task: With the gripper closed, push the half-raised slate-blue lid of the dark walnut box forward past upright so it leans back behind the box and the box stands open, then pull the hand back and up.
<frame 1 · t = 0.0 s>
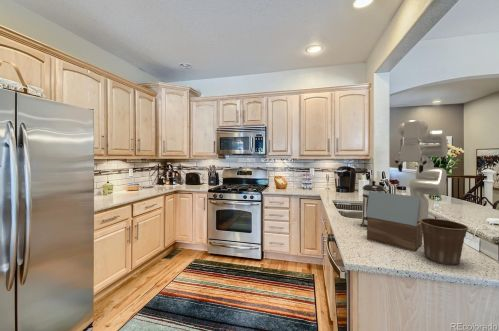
hand: (410, 172, 132), 37 cm above the worktop, tool pointing down, fingers open, 9 cm apart
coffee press: (372, 227, 149), on the worktop
plant pot: (441, 259, 102), on the worktop
box: (393, 241, 123), on the worktop
lid: (391, 207, 118), point 19 cm above the worktop, hinge at 75.0°
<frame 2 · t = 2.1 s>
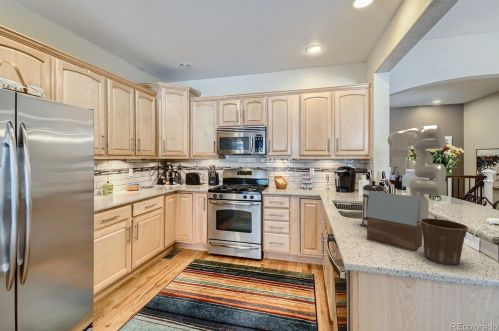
hand: (398, 188, 125), 28 cm above the worktop, tool pointing down, fingers closed
nothing on the worktop moved.
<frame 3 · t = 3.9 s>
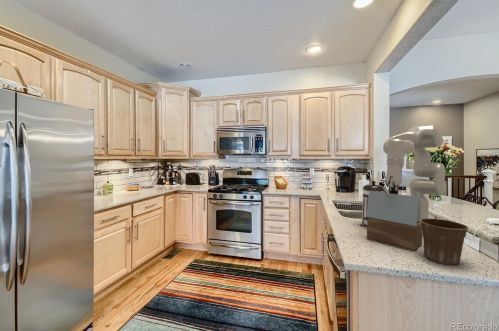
hand: (394, 198, 121), 24 cm above the worktop, tool pointing down, fingers closed
lid: (391, 207, 118), point 19 cm above the worktop, hinge at 77.2°, touching gripper
everything else where it was.
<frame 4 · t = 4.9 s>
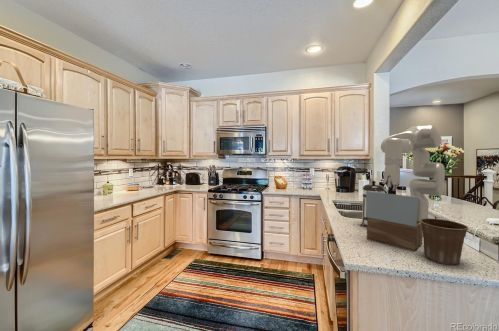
hand: (391, 198, 118), 24 cm above the worktop, tool pointing down, fingers closed
lid: (389, 207, 117), point 19 cm above the worktop, hinge at 91.9°, touching gripper
everything else where it was.
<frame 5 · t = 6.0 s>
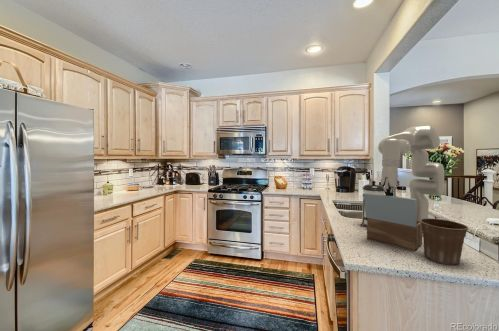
hand: (389, 200, 116), 23 cm above the worktop, tool pointing down, fingers closed
lid: (388, 208, 116), point 19 cm above the worktop, hinge at 106.4°, touching gripper
everything else where it was.
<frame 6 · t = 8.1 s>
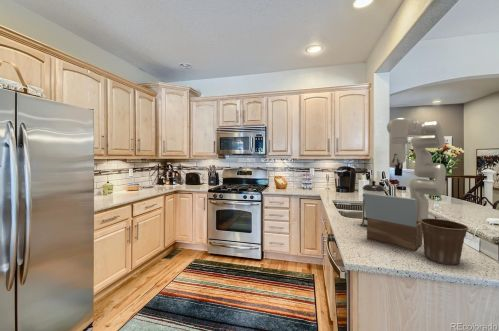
hand: (398, 175, 124), 35 cm above the worktop, tool pointing down, fingers closed
lid: (388, 208, 116), point 19 cm above the worktop, hinge at 106.4°
everything else where it was.
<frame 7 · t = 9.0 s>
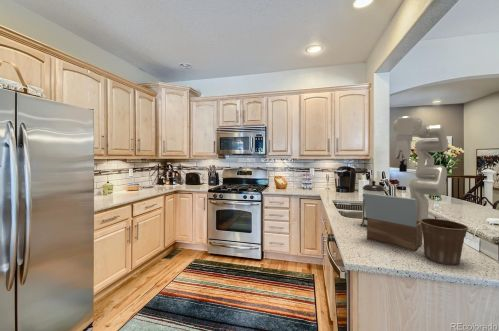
hand: (402, 171, 129), 37 cm above the worktop, tool pointing down, fingers closed
nothing on the worktop moved.
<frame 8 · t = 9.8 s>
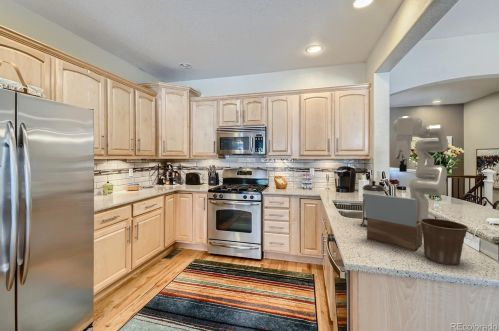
hand: (402, 171, 129), 37 cm above the worktop, tool pointing down, fingers closed
nothing on the worktop moved.
at the end: lid at +106° (first picture: +75°); plant pot moved 0.3 cm from its start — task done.
